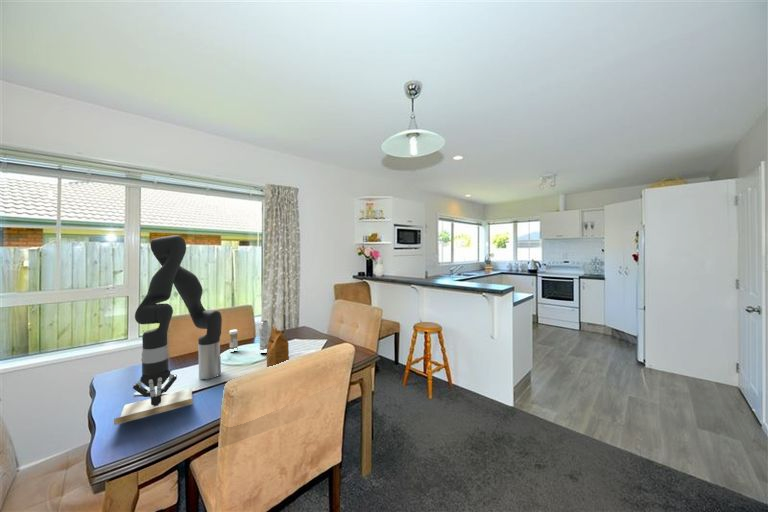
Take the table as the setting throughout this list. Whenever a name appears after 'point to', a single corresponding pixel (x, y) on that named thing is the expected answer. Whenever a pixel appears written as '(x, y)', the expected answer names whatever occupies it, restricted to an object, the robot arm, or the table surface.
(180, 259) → the robot arm
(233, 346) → the sprinkles bottle
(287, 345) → the coffee package
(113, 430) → the table surface
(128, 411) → the grey-washed plank
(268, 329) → the plastic bottle
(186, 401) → the honey oak plank
